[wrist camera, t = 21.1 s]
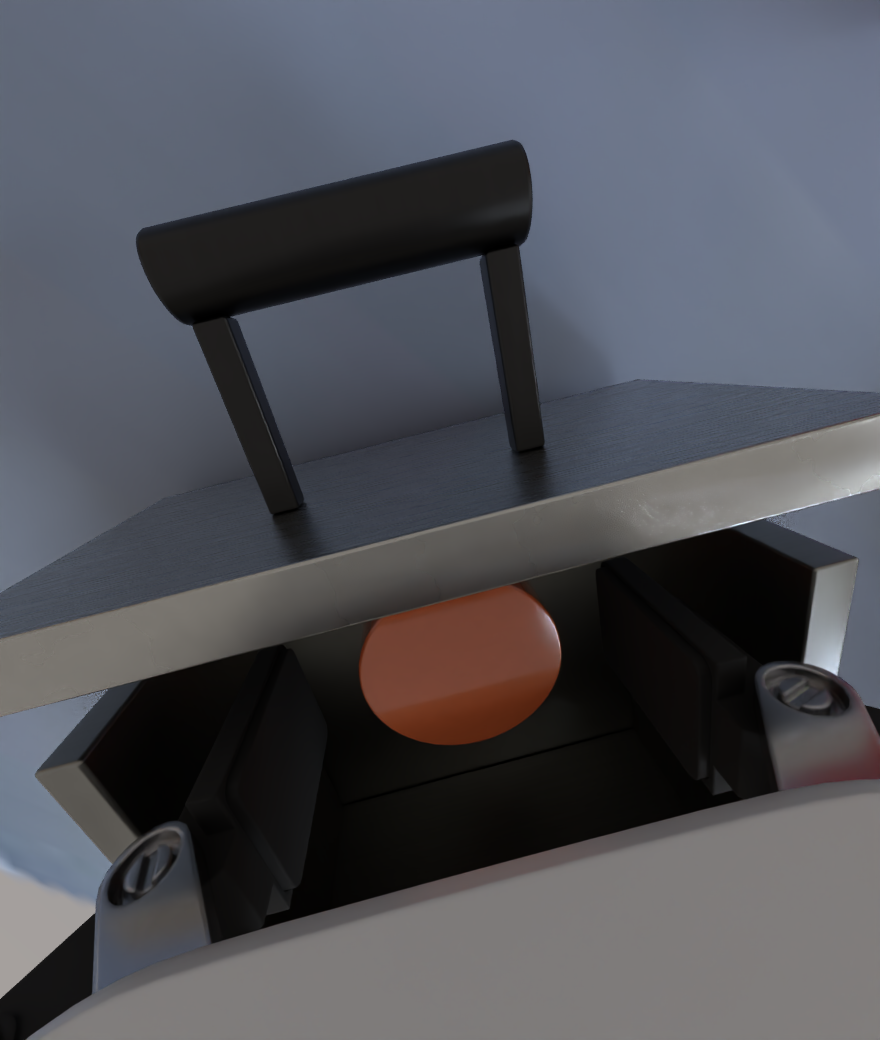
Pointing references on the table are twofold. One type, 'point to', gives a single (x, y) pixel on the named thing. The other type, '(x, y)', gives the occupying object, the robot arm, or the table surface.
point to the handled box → (425, 554)
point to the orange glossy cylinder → (461, 665)
